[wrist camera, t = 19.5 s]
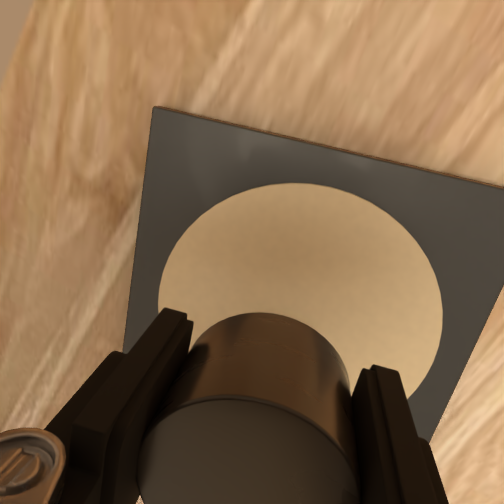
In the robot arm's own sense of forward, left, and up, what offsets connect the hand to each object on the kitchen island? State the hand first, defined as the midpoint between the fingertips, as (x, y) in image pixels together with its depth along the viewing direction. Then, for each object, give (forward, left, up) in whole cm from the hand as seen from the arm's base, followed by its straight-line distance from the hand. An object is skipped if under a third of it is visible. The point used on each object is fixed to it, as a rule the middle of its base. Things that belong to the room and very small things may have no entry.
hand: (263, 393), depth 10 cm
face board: (+1, -3, -10) cm, 10 cm away
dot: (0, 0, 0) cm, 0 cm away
